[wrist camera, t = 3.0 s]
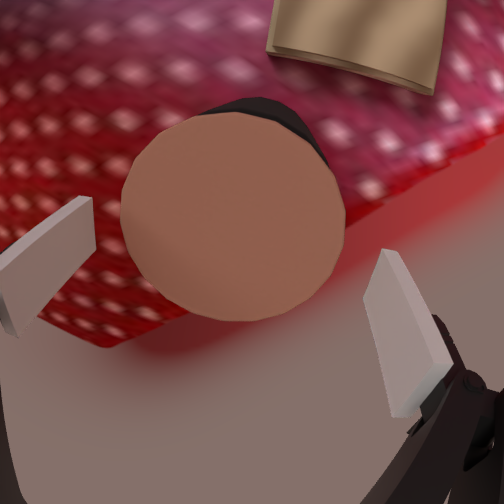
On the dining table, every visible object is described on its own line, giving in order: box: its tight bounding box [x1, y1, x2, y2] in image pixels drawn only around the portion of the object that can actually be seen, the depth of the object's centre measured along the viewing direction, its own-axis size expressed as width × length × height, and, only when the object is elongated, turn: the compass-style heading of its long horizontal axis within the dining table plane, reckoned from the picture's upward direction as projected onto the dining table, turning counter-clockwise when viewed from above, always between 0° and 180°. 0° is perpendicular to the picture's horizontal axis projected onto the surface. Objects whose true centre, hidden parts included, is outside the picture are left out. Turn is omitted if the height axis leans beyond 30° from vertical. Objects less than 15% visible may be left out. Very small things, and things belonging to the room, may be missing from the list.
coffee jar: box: [120, 97, 346, 321], centre depth 22 cm, size 11×11×18 cm
